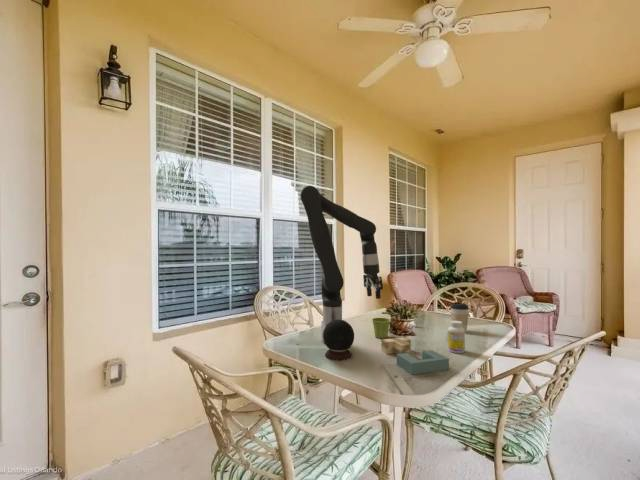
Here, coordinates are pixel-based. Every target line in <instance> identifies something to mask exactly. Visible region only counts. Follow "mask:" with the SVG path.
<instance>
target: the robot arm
mask: <svg viewBox="0 0 640 480" xmlns="http://www.w3.org/2000/svg"><path fill="white" fill-rule="evenodd" d="M299 195H300V196H299V198H300V201H301V203H302V205H303V207H304V210H305V214H306V217H307V221H308V227H309V228H308V229H309V233H310V238H311V241H312V246H313V250H314V252H315V254H316V255H317V258H318V260H319V262H320V264H321V268H322V270H323V271H322V272H323V276H322V279H321V300H322V320H321V342H323V343H324V340H323V331H324V328H325V327H326V325H327V324H328V323H329V322H331V321H333V320H337V319H339V320H343V299H342V297H341V295H342V294H341V290H342V289H343V287H344V277H343V275H342V273H341V269H340V267H339V264H338V261H337V258H336V252H335V248H334V243H333V239H332V235H331V232H330V229H329V226H328V223H327V221H326V218H325V217H324V216H325V215H324V213H325V214H327V215H328V216H330V217H332V218H333V219H335V220H337V221H338V222H340V223H341V224H343V225H345V226H346V227H348V228H351V229H354V230H355V231H356V232H359V237H360V243H361V251H362V266H363V267H362V268H363V287H364V288H365V289H366V295H367V297H372V296H373V292H372V291H373V290H372V287H373V288H374V291H375V298H376V300H378V299H381V298H382V296H381V290H383V289H384V286H383V278H382V276H379V275H378V274H380V272H381V271H380V270H381V269H380V262H379V261H380V260H379V255H378V254H379V253H378V246H377V243H376V242H375V234H376V231H377V226H376V224H375V223H374V222H372V221H370V220H369V219H366V218H364V217H362V216H360V215H358V214H356V213H355V212H354V211H351V210H349V209H348V208H346V207H344V206H342V205H339V204H338V203H336V202H333V201H331V200H330V199H328V198H327V197H325V196H324V195H323V194H321V193H320V190H319V189H318V188H317V187H315V186H312V185H307V186H304V187H303V188H302V189H301V191H300V194H299Z"/></svg>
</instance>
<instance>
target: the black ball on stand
mask: <svg viewBox="0 0 640 480" xmlns="http://www.w3.org/2000/svg"><path fill="white" fill-rule="evenodd" d="M323 340H324V342H323V344H324V345H325V346H326V347H327V349H328V350H326V352H325V353H324V354H325V356H324V357H325V358H326V359H328V360H331V361H336V362H338V361H340V362H342V361H349V360H350V359H352V357H353V353H352V352H351V350H350V348H351V347H352V345H353V344H354V341H355V331H354V328H353V327H352V325H351V324H350V323H349V322H347V320H343V319H342V320H339V319H337V320H333V321H331V322H329V323H328V324H327V325H326V327H325V328H324V331H323Z"/></svg>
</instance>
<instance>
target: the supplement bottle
mask: <svg viewBox="0 0 640 480" xmlns="http://www.w3.org/2000/svg"><path fill="white" fill-rule="evenodd" d="M449 321H450V326H449V327H448V328H447V335H448V339H447V343H448V351H449V352H450V353H453V352H454V353H453V354H463V353H465V352H466V343H465V342H466V341H465V340H466V338H465V337H466V336H465V334H466V333H465V330H464V329H463V328H462V322H461V321H451V320H449Z"/></svg>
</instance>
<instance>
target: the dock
mask: <svg viewBox="0 0 640 480" xmlns="http://www.w3.org/2000/svg"><path fill="white" fill-rule="evenodd" d="M421 355H422V356H421V359H418V358H416V357H414V356H413V355H411V354H410V355H409V354H408V353H403V354H396V365H397V366H398V367H399V368H400V369H402V370H404V371H405V372H407V373H408V374H410V375H411V376H412V375H418V374H419V375H420V374H424V373H432V372H433V373H434V372H439V371H441V370H442V371H447V370H446V369H450V361H449V360H450V358H448V357H447V356H444V355H443V354H441V353H438V352H437V351H434V350H432V349H431V350H423V351H422V352H421Z"/></svg>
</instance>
